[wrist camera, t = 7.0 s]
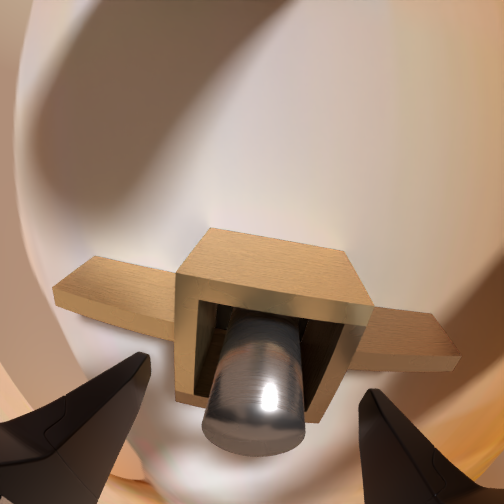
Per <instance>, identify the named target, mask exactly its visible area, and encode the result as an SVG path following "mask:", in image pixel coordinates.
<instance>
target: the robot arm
mask: <svg viewBox="0 0 504 504" xmlns="http://www.w3.org/2000/svg"><path fill="white" fill-rule="evenodd" d="M150 376H151V362H150V356H149V355H148V354H146V353H142V352H137V353H135V354H133V355H132V356H130V357H128V358H127V359H125V360H123V361H122V362H120V363H118V364H117V365H115V366H113V367H112V368H110V369H108V370H107V371H105V372H103V373H102V374H100V375H98V376H97V377H95V378H93V379H91V380H90V381H88V382H86V383H85V384H83V385H81V386H79V387H78V388H76V389H75V390H73V391H71V392H69V393H68V394H66V396H62V397H60V398H59V399H57V400H55V401H53V402H51V403H49V404H47V405H46V406H43V407H41V408H39V409H37V410H34V411H32V412H30V413H27V414H25V415H22V416H20V417H17V418H15V419H12V420H9V421H6V422H2V423H0V504H97V502H98V499H99V497H100V495H101V492H102V490H103V488H104V486H105V483H106V481H107V479H108V477H109V474H110V472H111V470H112V468H113V466H114V463H115V461H116V459H117V456H118V455H119V452H120V450H121V448H122V446H123V444H124V442H125V439H126V437H127V435H128V433H129V431H130V429H131V427H132V425H133V422H134V420H135V418H136V416H137V414H138V412H139V409H140V406H141V403H142V400H143V397H144V394H145V391H146V388H147V385H148V382H149V379H150ZM358 412H359V449H360V457H361V467H362V477H363V489H364V503H365V504H504V489H495V488H486V487H482V486H480V485H478V484H476V483H475V482H474V481H472V480H471V479H470V478H469V477H467V476H466V475H465V474H464V473H463V472H461V471H460V470H459V469H458V468H457V467H455V466H454V465H453V464H452V463H451V462H450V461H449V460H448V459H447V458H446V457H445V456H444V455H443V454H442V453H441V452H440V451H439V450H438V449H437V448H434V445H433V444H432V443H431V442H430V441H429V440H428V439H427V438H426V437H425V436H424V435H423V434H422V433H421V432H420V431H419V430H418V429H417V428H416V427H415V426H414V425H413V423H412V422H411V421H410V420H409V419H408V418H407V417H406V416H405V415H404V414H403V413H402V412H401V411H400V410H399V409H398V408H397V407H396V406H395V405H394V404H393V403H392V402H391V401H390V400H389V398H388V397H387V396H386V395H385V394H384V393H383V392H382V391H381V390H380V389H371V388H370V389H368V390H367V391H366V393H365V395H364V396H363V398H362V400H361V401H360V403H359V407H358Z"/></svg>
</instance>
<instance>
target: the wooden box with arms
mask: <svg viewBox="0 0 504 504" xmlns="http://www.w3.org/2000/svg"><path fill="white" fill-rule="evenodd" d="M52 289H53V294H54V300H55V304H56V306H58V307H61V308H64V309H66V310H69V311H72V312H75V313H78V314H81V315H84V316H86V317H89V318H92V319H95V320H99V321H102V322H105V323H108V324H111V325H114V326H118V327H121V328H125V329H128V330H131V331H135V332H139V333H142V334H146V335H150V336H153V337H157V338H161V339H165V340H169V341H173V342H174V370H175V399H176V402H180V403H184V404H188V405H193V406H197V407H201V408H206V406H207V402H208V399H209V395H210V391H211V387H212V384H213V380H214V376H215V373H216V369H217V365H218V361H219V358H220V354H221V350H222V347H223V343H224V339H225V335H226V332H227V330H223V329H218V328H215V326H216V317H217V308H218V304H223V305H229V306H234V307H239V308H245V309H251V310H256V311H262V312H268V313H274V314H281V315H287V316H293V317H300V318H307V319H308V322H307V326H306V329H305V332H304V335H303V338H302V341H301V342H300V354H301V367H302V381H303V397H304V414H305V423H319V422H320V420H321V418H322V417H323V415H324V413H325V411H326V410H327V408H328V406H329V404H330V402H331V400H332V398H333V397H334V395H335V393H336V391H337V389H338V387H339V385H340V383H341V381H342V379H343V377H344V375H345V373H346V371H347V369H353V370H369V371H393V372H444V371H453V369H454V368H455V366H456V365H457V363H458V361H459V360H460V358H461V357H462V355H461V354H460V352H459V351H458V349H457V348H456V347H455V345H454V344H453V342H452V341H451V339H450V338H449V337H448V335H447V334H446V332H445V331H444V330H443V328H442V327H441V326H440V324H439V323H438V322H437V320H436V319H435V318H434V316H433V315H432V314H429V313H421V312H412V311H404V310H396V309H388V308H381V307H374V304H373V302H372V300H371V298H370V297H369V295H368V293H367V291H366V289H365V287H364V286H363V284H362V282H361V280H360V278H359V277H358V275H357V273H356V271H355V269H354V268H353V266H352V264H351V262H350V261H349V259H348V257H347V256H346V254H345V252H344V251H339V250H334V249H329V248H323V247H318V246H312V245H307V244H301V243H296V242H290V241H285V240H279V239H273V238H268V237H262V236H256V235H250V234H245V233H239V232H233V231H227V230H221V229H215V228H210V229H209V230H208V231H207V232H206V234H205V235H204V236H203V238H202V239H201V240H200V241H199V243H198V244H197V245H196V247H195V248H194V249H193V250H192V252H191V253H190V254H189V256H188V257H187V258H186V260H185V261H184V262H183V263H182V265H181V266H180V267H179V269H178V270H177V271H176V273H172V272H167V271H162V270H157V269H153V268H148V267H143V266H138V265H134V264H129V263H125V262H120V261H116V260H111V259H107V258H102V257H98V256H94V257H92V258H91V259H90V260H88V261H87V262H85V263H84V264H83V265H81V266H80V267H79V268H77V269H76V270H74V271H73V272H72V273H70V274H69V275H68V276H66V277H65V278H64V279H62V280H61V281H60V282H59V283H57V284H56V285H55V286H53V287H52Z"/></svg>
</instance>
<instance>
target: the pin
mask: <svg viewBox="0 0 504 504" xmlns="http://www.w3.org/2000/svg"><path fill="white" fill-rule="evenodd" d="M202 430H203V433H204V435H205V436H206V437H207V439H208V440H210V441H211V442H212V443H213V444H215V445H216V446H218V447H220V448H222V449H224V450H226V451H229V452H232V453H235V454H239V455H245V456H257V457H260V456H272V455H278V454H281V453H285V452H287V451H290V450H292V449H293V448H295V447H296V446H298V445H299V444H300V443H301V442H302V441H303V439H304V437H305V414H304V397H303V381H302V367H301V354H300V341H299V329H298V318H297V317H293V316H287V315H281V314H274V313H268V312H262V311H256V310H251V309H245V308H239V307H234V306H233V309H232V313H231V317H230V321H229V324H228V328H227V332H226V335H225V339H224V343H223V347H222V350H221V354H220V358H219V361H218V365H217V369H216V373H215V376H214V380H213V384H212V387H211V391H210V395H209V399H208V402H207V406H206V410H205V414H204V417H203V421H202Z"/></svg>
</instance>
